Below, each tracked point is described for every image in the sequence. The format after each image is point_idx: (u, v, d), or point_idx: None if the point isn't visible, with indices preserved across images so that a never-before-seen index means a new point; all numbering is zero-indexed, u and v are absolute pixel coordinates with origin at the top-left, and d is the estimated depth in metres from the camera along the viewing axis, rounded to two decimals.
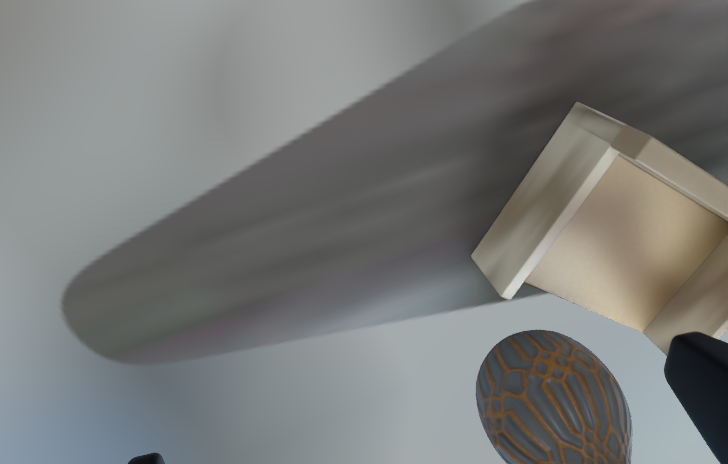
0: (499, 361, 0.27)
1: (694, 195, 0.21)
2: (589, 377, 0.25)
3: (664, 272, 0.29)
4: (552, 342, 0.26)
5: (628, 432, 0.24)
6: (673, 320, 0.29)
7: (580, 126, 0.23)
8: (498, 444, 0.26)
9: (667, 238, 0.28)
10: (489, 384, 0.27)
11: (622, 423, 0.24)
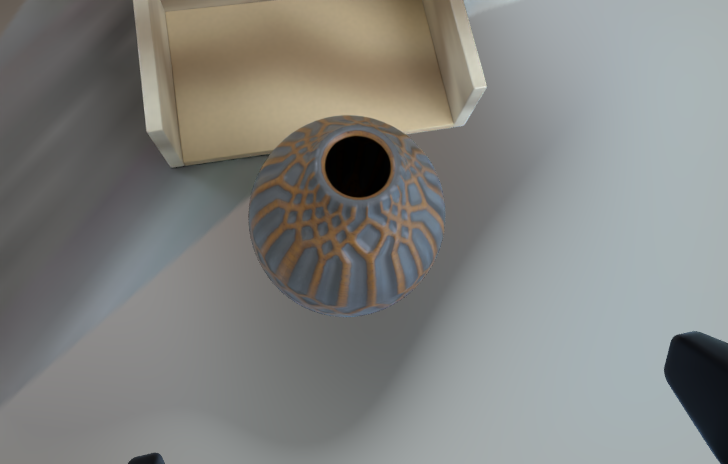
0: None
1: None
2: None
3: (398, 58, 0.25)
4: None
5: (369, 121, 0.17)
6: (450, 80, 0.24)
7: None
8: (281, 280, 0.17)
9: (360, 31, 0.25)
10: None
11: (352, 119, 0.17)
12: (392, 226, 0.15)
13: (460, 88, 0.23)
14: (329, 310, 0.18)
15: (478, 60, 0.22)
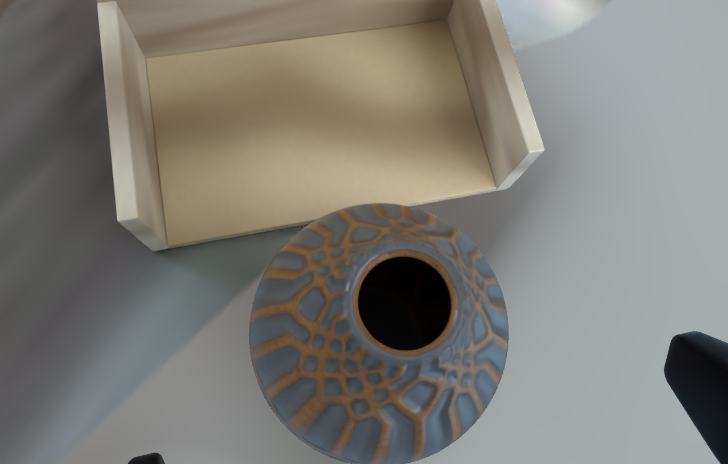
0: None
1: None
2: None
3: (427, 108, 0.21)
4: None
5: (410, 219, 0.13)
6: (492, 136, 0.20)
7: None
8: (294, 430, 0.13)
9: (380, 77, 0.21)
10: None
11: (387, 215, 0.13)
12: (450, 376, 0.11)
13: (507, 148, 0.19)
14: None
15: (532, 116, 0.17)
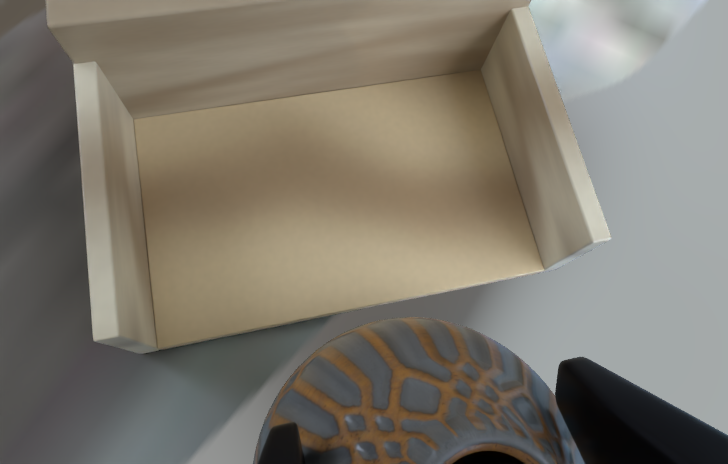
0: None
1: (194, 8, 0.14)
2: (344, 339, 0.11)
3: (460, 175, 0.18)
4: None
5: (472, 360, 0.10)
6: (540, 211, 0.17)
7: None
8: None
9: (406, 138, 0.18)
10: None
11: (440, 353, 0.10)
12: None
13: (561, 230, 0.16)
14: None
15: (595, 197, 0.15)
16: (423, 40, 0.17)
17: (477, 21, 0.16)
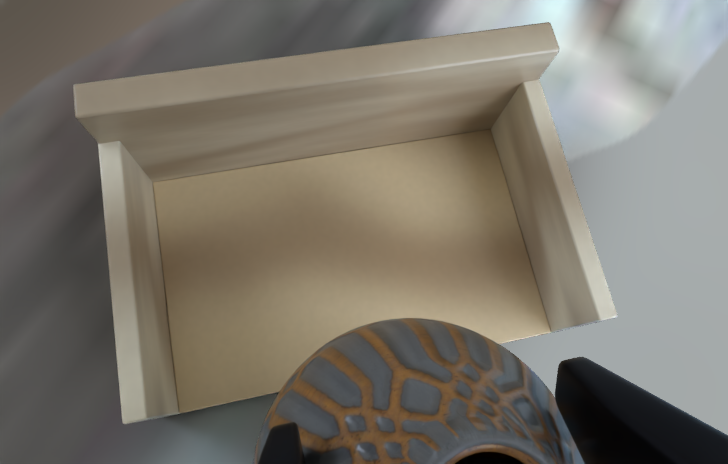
0: None
1: (217, 96, 0.14)
2: (345, 339, 0.11)
3: (471, 237, 0.18)
4: None
5: (472, 361, 0.10)
6: (548, 277, 0.17)
7: None
8: None
9: (417, 200, 0.19)
10: None
11: (440, 354, 0.10)
12: None
13: (569, 300, 0.16)
14: None
15: (602, 274, 0.15)
16: (436, 109, 0.17)
17: (489, 92, 0.17)
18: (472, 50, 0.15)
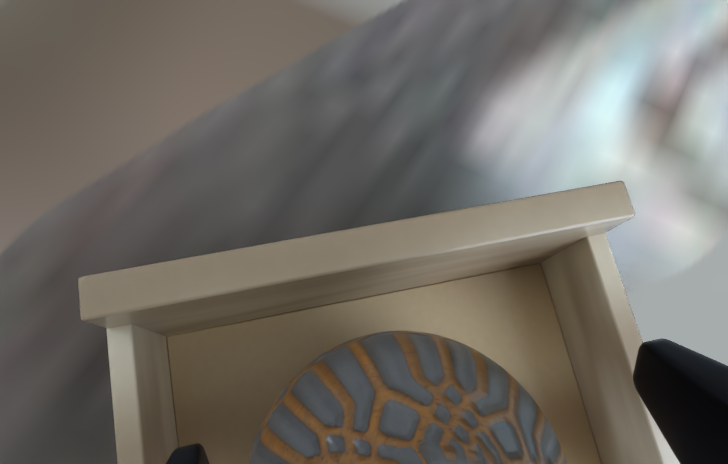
0: None
1: (245, 288, 0.12)
2: (336, 353, 0.11)
3: None
4: None
5: (456, 382, 0.10)
6: (613, 452, 0.15)
7: None
8: None
9: None
10: None
11: (425, 374, 0.10)
12: None
13: None
14: None
15: None
16: (486, 262, 0.15)
17: (548, 246, 0.15)
18: (536, 219, 0.13)
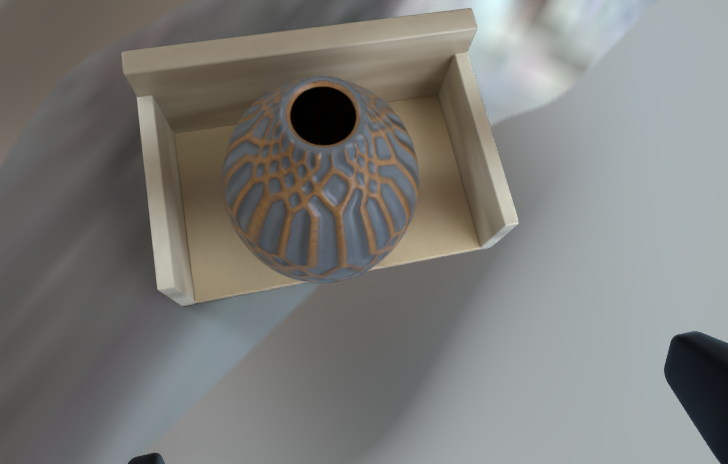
0: None
1: (224, 60, 0.19)
2: None
3: (420, 176, 0.24)
4: None
5: None
6: (476, 204, 0.23)
7: None
8: (252, 240, 0.17)
9: None
10: None
11: None
12: (359, 178, 0.15)
13: (488, 217, 0.21)
14: (301, 271, 0.18)
15: (508, 193, 0.20)
16: (390, 75, 0.23)
17: (430, 62, 0.22)
18: (412, 28, 0.20)
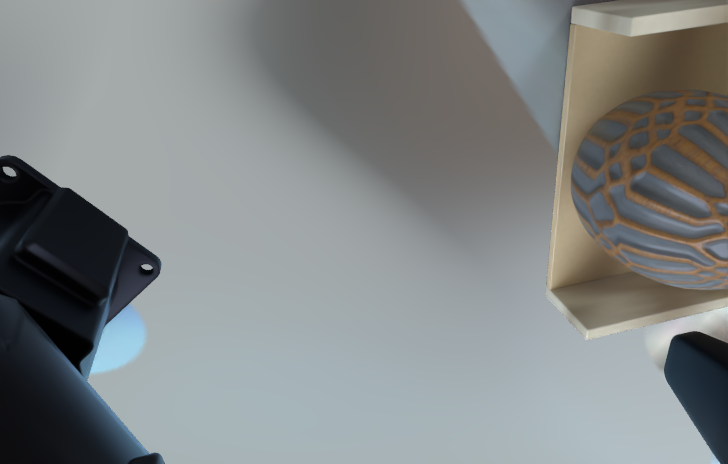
0: None
1: None
2: None
3: None
4: None
5: None
6: (593, 293, 0.25)
7: None
8: (669, 139, 0.17)
9: None
10: (678, 92, 0.19)
11: None
12: (723, 268, 0.17)
13: (586, 308, 0.24)
14: (618, 176, 0.18)
15: (611, 333, 0.23)
16: None
17: None
18: None
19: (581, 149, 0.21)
